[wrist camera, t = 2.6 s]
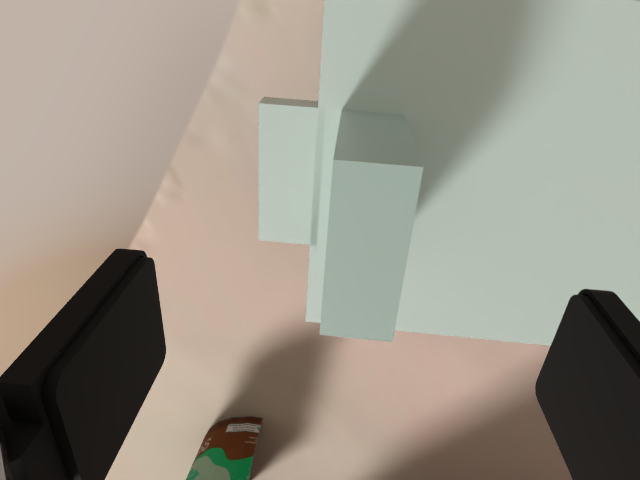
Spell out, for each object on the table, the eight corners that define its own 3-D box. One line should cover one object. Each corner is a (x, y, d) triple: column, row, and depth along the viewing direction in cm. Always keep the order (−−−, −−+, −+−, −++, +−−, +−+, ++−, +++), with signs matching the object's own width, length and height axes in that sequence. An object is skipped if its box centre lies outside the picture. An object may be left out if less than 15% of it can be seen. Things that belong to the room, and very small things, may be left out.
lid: (895, 19, 17) (1305, 39, 9) (708, 333, 24) (861, 483, 16) (269, -24, 18) (205, -36, 10) (266, 291, 24) (228, 415, 17)
